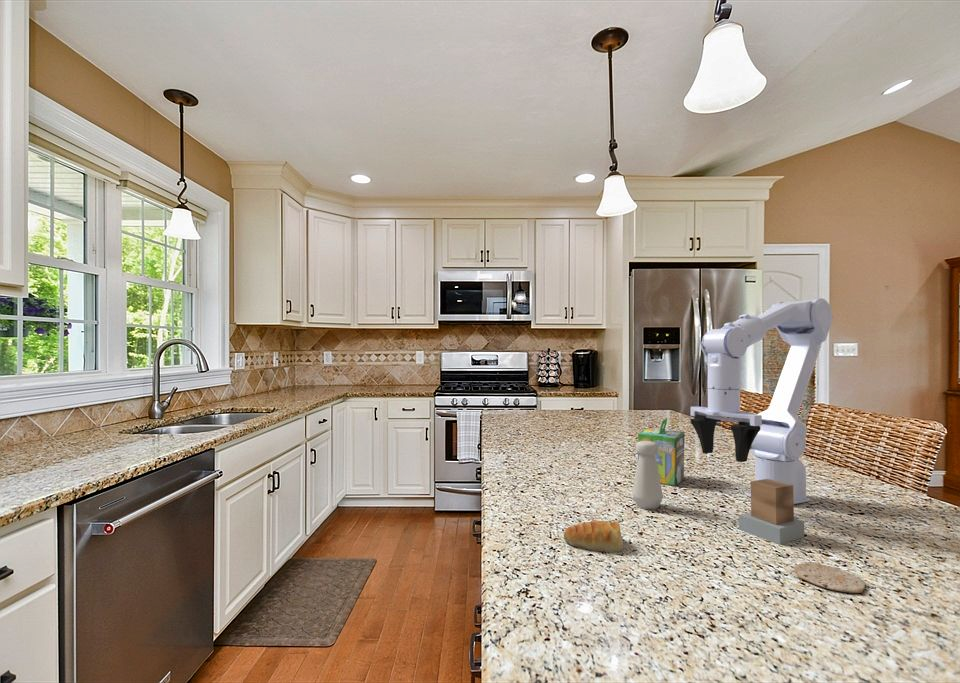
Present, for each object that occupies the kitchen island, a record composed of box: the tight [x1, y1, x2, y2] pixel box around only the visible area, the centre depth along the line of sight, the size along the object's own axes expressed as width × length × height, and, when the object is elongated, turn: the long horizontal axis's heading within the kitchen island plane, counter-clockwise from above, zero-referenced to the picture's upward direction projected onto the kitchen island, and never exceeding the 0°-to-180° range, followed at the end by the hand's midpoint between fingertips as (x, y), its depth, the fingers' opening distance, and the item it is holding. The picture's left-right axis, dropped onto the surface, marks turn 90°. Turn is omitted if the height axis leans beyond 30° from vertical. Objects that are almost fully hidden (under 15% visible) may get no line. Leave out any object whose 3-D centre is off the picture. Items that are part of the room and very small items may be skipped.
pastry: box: [563, 519, 624, 553], centre depth 76 cm, size 9×7×4 cm
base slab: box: [738, 511, 805, 546], centre depth 80 cm, size 7×7×3 cm
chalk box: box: [637, 417, 686, 487], centre depth 113 cm, size 9×9×15 cm
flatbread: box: [793, 561, 866, 594], centre depth 64 cm, size 8×8×1 cm
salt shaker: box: [631, 441, 664, 510], centre depth 94 cm, size 6×6×13 cm
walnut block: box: [750, 479, 795, 525], centre depth 80 cm, size 4×4×6 cm
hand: (723, 457), depth 92 cm, fingers open, 7 cm apart
